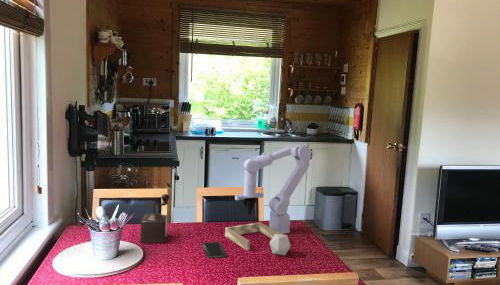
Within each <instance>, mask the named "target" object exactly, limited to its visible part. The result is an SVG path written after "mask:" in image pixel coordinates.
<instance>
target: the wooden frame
mask: <svg viewBox="0 0 500 285" xmlns="http://www.w3.org/2000/svg"><path fill="white" fill-rule="evenodd" d="M224 230H225V231H224V236H225V238H227V239H229V240H230V241H232V242H233V243H235V244H236V245H238V246H240V248H242V249H244V250H246V251H250V248H251V247H250V246H251V240H249V239H248V238H246V237H244V236H242V235H245V234H251V233H258V232H260V233H261V234H263V235H265V236H267V237H268V238H270V239H272V238H273V237H274V235H275V234H282V233H280V232H278V231H276V230H274V229H272V228H270V227H269V225H266V224H264V223H263V222H255V223H248V224H240V225H234V226H227V227H225V229H224ZM282 235H284V234H282Z"/></svg>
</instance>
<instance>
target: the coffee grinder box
mask: <svg viewBox="0 0 500 285" xmlns="http://www.w3.org/2000/svg"><path fill="white" fill-rule="evenodd" d="M160 198H161V200H162V202H161V204H160V203H159V204H157V203H156V201H153V202H152V207H153V209H152V210H153V212H152V213H150V214H144V215H143V217H142V219H141V221H140V243H141V244H165V243H166V242H167V239H168V238H169V236H168V235H167V234H168V233H167V230H168V215H167V214H163V213H162V214H161V213H158V212H156V207H163V206H164V207H165V206H166V205H169V200H170V198H171V196H170V194H167V193H164V194H162V195H161V197H160Z"/></svg>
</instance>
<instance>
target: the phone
mask: <svg viewBox="0 0 500 285" xmlns="http://www.w3.org/2000/svg"><path fill="white" fill-rule="evenodd" d="M201 247H202V249H203V251H204V254H205V255H206V257H207V259H222V258H223V259H224V258H227V253H226V251H225V248H224V247H223V246H222V244H221V242H219V241H214V242H213V241H211V242H210V241H209V242H208V241H207V242H201Z"/></svg>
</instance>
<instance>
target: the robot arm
mask: <svg viewBox="0 0 500 285" xmlns="http://www.w3.org/2000/svg"><path fill="white" fill-rule="evenodd" d="M311 152H312V151H311V149H310V147H309V146H308V145H305V144H302V143H299V142H294V143H293V144H289V145H288V146H285V147H283V148H281V149H279V150H276V151H275V152H272V153H269V152H262V153H261V154H260V155H258V156H253V157H252V158H248V159H246V160H245V161H243V162H244V163H243V165H242V167H243V168H244V176H243V193H239V194H237V195H236V194H235V195H234V200H235V201H241V200H242V202H243V205H244V208H245V214H246V215H252V211H253V209H254V206H255V205H256V203H257V199H258V198H260V199H261V198H264V193H263V192H257V177H258V175H257V173H258V171H259V170H261V169H264V168H265V167H268V166H270V165H272V164H273V162H274V161H276V160H280V159H283V158H284V157H288V156H291V157H293V158H294V160H295V163H296V165H295V167H294V168H293V170H292V171H291V173H290V175H289V177H288V178H287V180H286V181H285V183H284V185H283V186H282V188H281V190H280V191H279V192H278V193H276V194H275V195H274V197H272V198H271V199H270V200H269V202H268V207H269V209H270V211H269V224H268V227H270V228H272V229H274V230H276V231H278V232H280V233H282V234H283V235H285V234H289V233H291V231H290V227H291V226H290V225H291V217H290V214H289V213H288V210H289V205H290V204H291V202H290V198H291V197H292V195H293V193H294V192H295V190H296V189H297V186H298V185H299V183H300V182H301V180H302V178H303V177H304V176H305V174H306V172H307V171H308V169H309V167H310V159H311V156H312V153H311Z"/></svg>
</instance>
